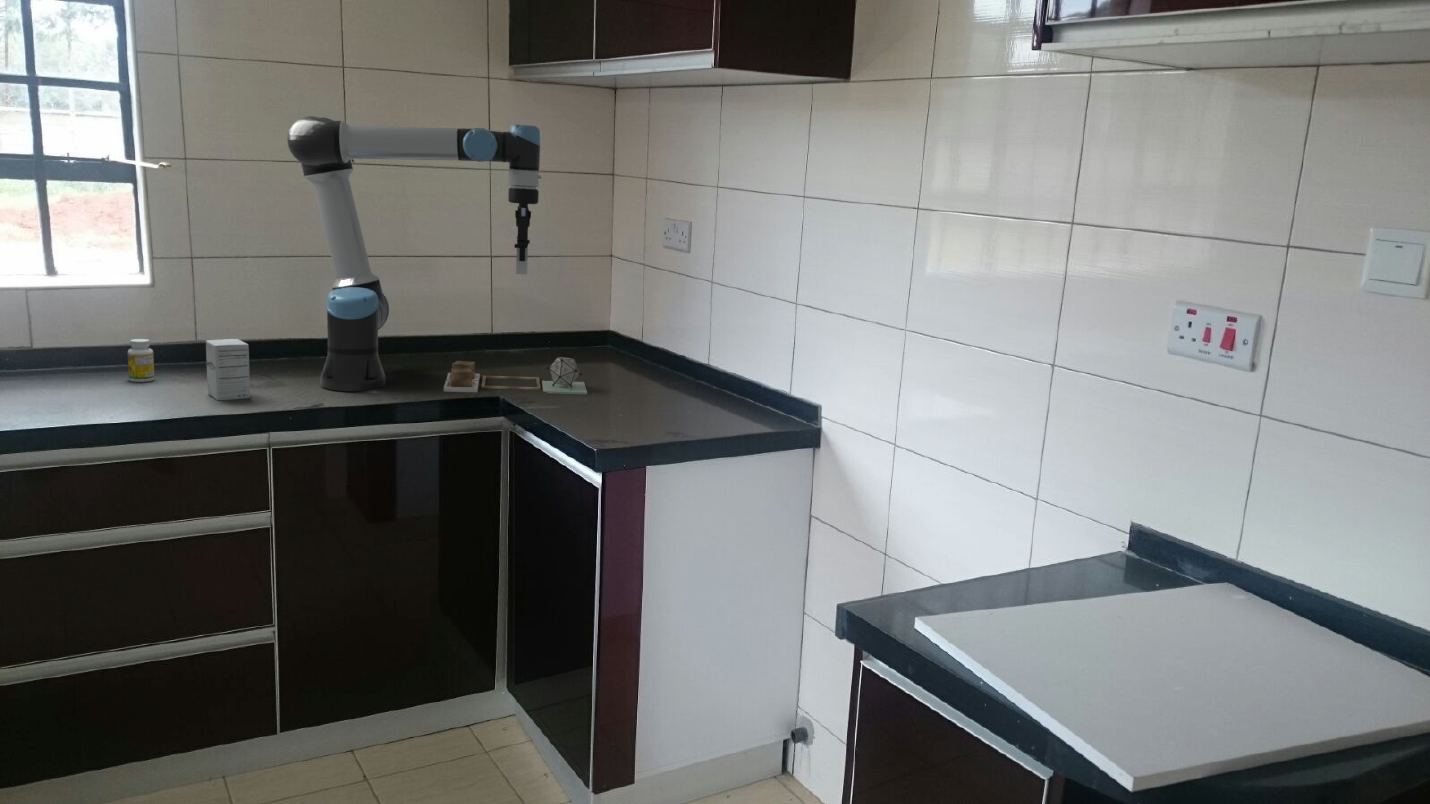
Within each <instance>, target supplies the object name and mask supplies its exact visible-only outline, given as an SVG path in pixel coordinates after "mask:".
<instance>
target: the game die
mask: <svg viewBox="0 0 1430 804" xmlns="http://www.w3.org/2000/svg"><path fill="white" fill-rule="evenodd" d="M555 357H556V359H555V360H554V361H553V362H552V364H550V366H549V367H548V366H547V367H545V369H546V370H549V373H550V376H551V378H552V381H553V382H554V384H553V385H552V386H554V385H555V384H560V385H570V387H571V388H572V387H573V386H572V383H573V382H576V380H577V378H578V377H579V376H583V375H584V374H583V373H581V372H580V370H579V368H578V365H577V362H576V359H577V355H574V356H573V358H572V357H563V356H562V357H561V356H559V354H557V353H556V355H555Z"/></svg>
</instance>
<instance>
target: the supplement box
mask: <svg viewBox="0 0 1430 804" xmlns="http://www.w3.org/2000/svg"><path fill="white" fill-rule="evenodd" d="M249 348H250V347H249V344H248V343H246V342H244V341H242V340H241V339H239V338H229V339H224V338H223V339H209V340H208V339H207V340H205V349H206V350H205V353H206V354H205V356H206V358H205V359H206V379H207V380H206V383H207V387H206V388H207V394H208V395H210V396H211V397H213V398H214V399H215V400H217V401H230V400H242V399H250V398H251V387H250V382H251V381H250V380H251V379H250V352H249V351H250V349H249Z"/></svg>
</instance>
